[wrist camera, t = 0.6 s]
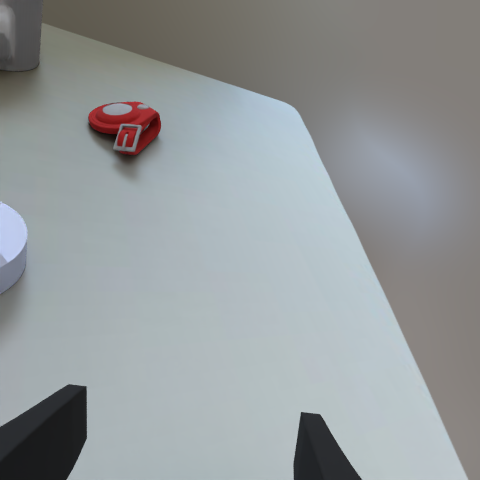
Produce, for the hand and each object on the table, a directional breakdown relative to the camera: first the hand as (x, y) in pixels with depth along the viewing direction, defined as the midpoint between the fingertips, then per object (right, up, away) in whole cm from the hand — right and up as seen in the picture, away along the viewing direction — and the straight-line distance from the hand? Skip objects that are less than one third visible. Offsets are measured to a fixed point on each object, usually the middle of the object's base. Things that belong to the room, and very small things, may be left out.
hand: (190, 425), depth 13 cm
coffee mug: (-33, +32, +44) cm, 64 cm away
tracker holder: (-15, +20, +42) cm, 49 cm away
